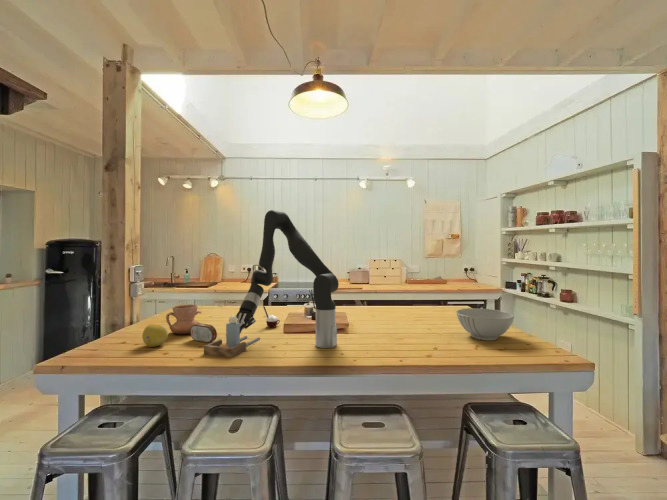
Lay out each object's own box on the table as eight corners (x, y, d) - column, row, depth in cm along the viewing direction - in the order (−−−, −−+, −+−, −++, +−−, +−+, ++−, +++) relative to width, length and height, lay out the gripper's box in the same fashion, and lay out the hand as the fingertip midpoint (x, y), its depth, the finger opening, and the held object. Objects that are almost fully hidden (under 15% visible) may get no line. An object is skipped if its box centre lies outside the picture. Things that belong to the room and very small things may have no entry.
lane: (259, 339, 173) (259, 337, 173) (240, 349, 157) (240, 347, 157) (245, 337, 175) (245, 335, 175) (224, 347, 159) (224, 345, 159)
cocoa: (279, 325, 202) (280, 305, 202) (279, 328, 196) (280, 306, 196) (262, 325, 201) (263, 304, 201) (261, 327, 194) (262, 306, 195)
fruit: (162, 348, 157) (162, 326, 157) (137, 349, 156) (137, 327, 156) (171, 342, 167) (171, 321, 167) (148, 342, 167) (148, 321, 166)
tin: (217, 342, 167) (217, 325, 167) (212, 344, 164) (212, 326, 164) (194, 338, 174) (194, 321, 173) (189, 340, 171) (188, 323, 171)
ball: (231, 347, 154) (228, 342, 151) (227, 355, 151) (223, 349, 148) (223, 346, 155) (220, 341, 153) (219, 354, 152) (215, 348, 150)
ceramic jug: (205, 328, 193) (205, 303, 193) (199, 335, 179) (198, 307, 179) (171, 330, 191) (170, 304, 191) (162, 337, 176) (161, 309, 176)
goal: (245, 350, 156) (245, 342, 156) (231, 357, 146) (231, 349, 146) (219, 346, 160) (219, 339, 160) (203, 353, 150) (203, 345, 150)
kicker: (240, 346, 159) (240, 315, 159) (235, 349, 156) (235, 317, 155) (230, 345, 161) (230, 314, 160) (225, 348, 157) (225, 316, 157)
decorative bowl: (454, 341, 171) (454, 316, 170) (457, 328, 195) (457, 306, 195) (516, 347, 160) (516, 321, 160) (511, 333, 185) (511, 310, 185)
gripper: (235, 298, 171) (219, 329, 160) (259, 300, 167) (245, 332, 155) (241, 307, 176) (227, 338, 165) (265, 309, 172) (251, 340, 161)
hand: (235, 335), depth 160 cm, fingers closed
